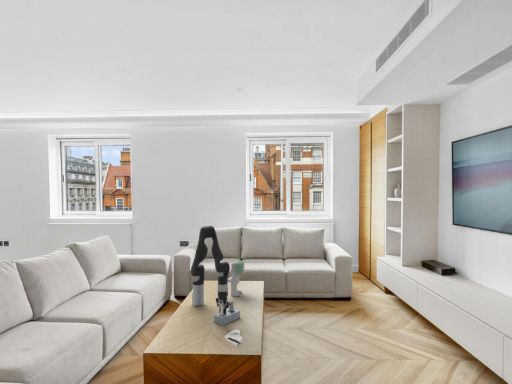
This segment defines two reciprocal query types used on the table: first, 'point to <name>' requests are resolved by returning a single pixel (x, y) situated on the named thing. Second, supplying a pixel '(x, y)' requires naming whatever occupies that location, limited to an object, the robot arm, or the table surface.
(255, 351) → the table surface
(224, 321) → the hole block
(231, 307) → the grey peg
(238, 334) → the cloth
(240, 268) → the toy
